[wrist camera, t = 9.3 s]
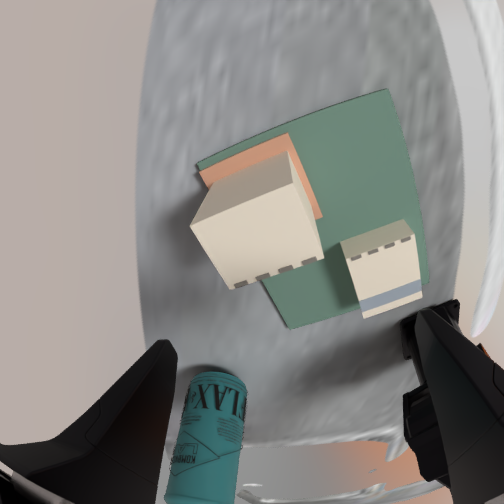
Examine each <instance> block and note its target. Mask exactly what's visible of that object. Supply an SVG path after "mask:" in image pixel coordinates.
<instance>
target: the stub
mask: <svg viewBox="0 0 504 504" xmlns="http://www.w3.org/2000/svg"><path fill="white" fill-rule="evenodd" d="M190 228H191V229H192V231H193V232H194V234H195V236H196V237H197V239H198V240H199V242H200V244H201V245H202V247H203V248H204V250H205V252H206V253H207V255H208V256H209V258H210V259H211V261H212V263H213V264H214V266H215V267H216V269H217V270H218V272H219V273H220V275H221V277H222V278H223V280H224V281H225V283H226V284H227V286H228V287H229V289H230V290H231V289H235V288H239V287H242V286H245V285H248V284H250V283H253V282H256V281H260V280H263V279H266V278H269V277H271V276H274V275H277V274H281V273H284V272H287V271H290V270H293V269H295V268H297V267H300V266H304V265H307V264H310V263H313V262H316V261H318V260H321V259H323V258H324V255H323V250H322V246H321V242H320V238H319V234H318V230H317V226H316V222H315V218H314V214H313V211H312V207H311V204H310V202H309V199H308V197H307V195H306V192H305V190H304V187H303V185H302V183H301V180H300V178H299V176H298V174H297V171H296V169H295V167H294V164H293V162H292V160H291V158H290V155H289V153H288V151H284V152H282V153H280V154H277V155H275V156H272V157H270V158H267V159H265V160H263V161H260V162H258V163H256V164H253V165H251V166H249V167H246V168H244V169H242V170H239V171H237V172H235V173H233V174H230V175H228V176H226V177H224V178H222V179H219V180H217V181H215V182H214V183H213V184H212V186H211V188H210V190H209V191H208V193H207V195H206V197H205V199H204V200H203V202H202V204H201V206H200V208H199V209H198V211H197V213H196V215H195V217H194V219H193V221H192V222H191V224H190Z"/></svg>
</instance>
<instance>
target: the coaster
mask: <svg viewBox="0 0 504 504" xmlns="http://www.w3.org/2000/svg"><path fill="white" fill-rule="evenodd" d="M284 151H288V153H289V155H290V158H291V160H292V162H293V164H294V167H295V169H296V171H297V174H298V176H299V178H300V180H301V183H302V185H303V187H304V190H305V192H306V195H307V197H308V199H309V202H310V204H311V207H312V211H313V214H314V218H315V220H316V219H319V218H322V217H323V215H322V213H321V210H320V208H319V205H318V202H317V200H316V197H315V195H314V192H313V190H312V187H311V185H310V183H309V180H308V178H307V175H306V173H305V171H304V168H303V166H302V163H301V161H300V159H299V156H298V154H297V152H296V150H295V147H294V145H293V143H292V141H291V138H290V136H289V134H288V132H286V133H283V134H281V135H278V136H276V137H273V138H271V139H269V140H266V141H264V142H262V143H259V144H257V145H255V146H252V147H250V148H248V149H245V150H243V151H241V152H239V153H236V154H234V155H232V156H230V157H228V158H225V159H223V160H221V161H219V162H217V163H215V164H213V165H211V166H208V167H206V168H204V169H202V170H200V172H199V173H200V175H201V177H202V178H203V180H204V182H205V184H206V186H207V187H208V189H209V190H210V188H211V186H212V184H213V183H214V182H215V181H217V180H219V179H222V178H224V177H226V176H228V175H230V174H233V173H235V172H237V171H239V170H242V169H244V168H246V167H249V166H251V165H253V164H256V163H258V162H260V161H263V160H265V159H267V158H270V157H272V156H275V155H277V154H280V153H282V152H284Z"/></svg>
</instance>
